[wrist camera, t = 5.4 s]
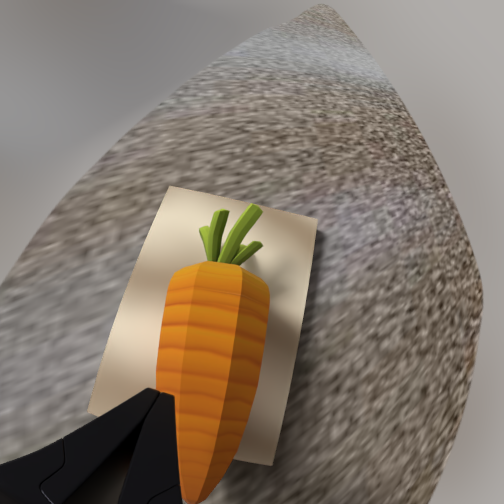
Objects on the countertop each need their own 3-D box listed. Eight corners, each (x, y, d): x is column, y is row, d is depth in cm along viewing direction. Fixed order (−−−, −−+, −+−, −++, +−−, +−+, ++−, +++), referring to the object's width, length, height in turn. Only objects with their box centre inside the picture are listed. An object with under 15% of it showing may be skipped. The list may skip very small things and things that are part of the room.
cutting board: (269, 462, 14) (271, 466, 13) (93, 411, 14) (87, 411, 14) (313, 227, 21) (317, 219, 20) (171, 194, 21) (169, 185, 21)
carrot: (129, 482, 12) (177, 216, 18) (222, 490, 13) (252, 242, 20) (146, 523, 7) (206, 168, 14) (268, 521, 9) (298, 205, 16)
